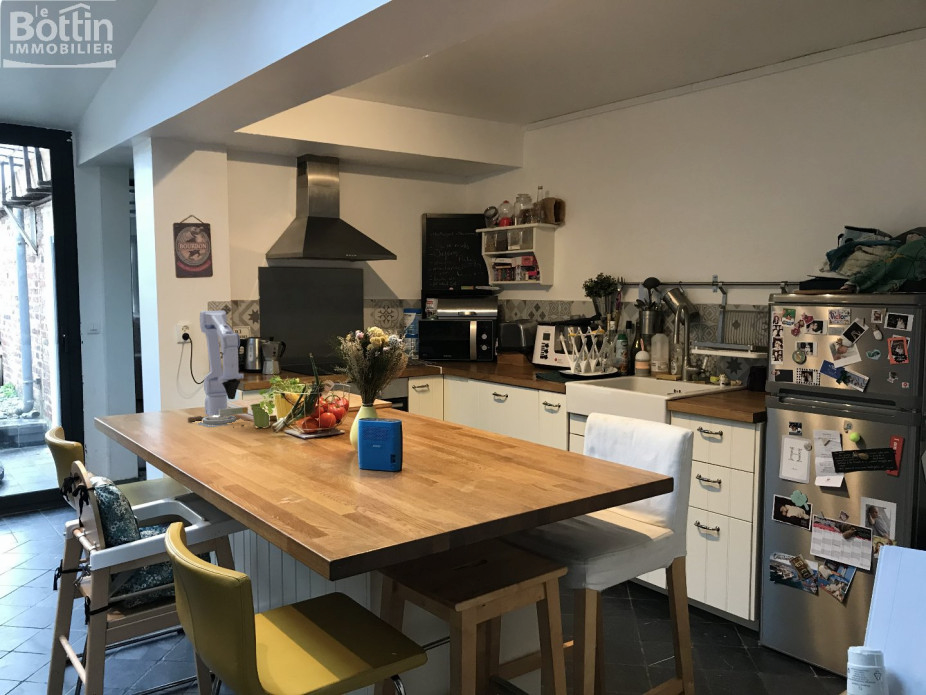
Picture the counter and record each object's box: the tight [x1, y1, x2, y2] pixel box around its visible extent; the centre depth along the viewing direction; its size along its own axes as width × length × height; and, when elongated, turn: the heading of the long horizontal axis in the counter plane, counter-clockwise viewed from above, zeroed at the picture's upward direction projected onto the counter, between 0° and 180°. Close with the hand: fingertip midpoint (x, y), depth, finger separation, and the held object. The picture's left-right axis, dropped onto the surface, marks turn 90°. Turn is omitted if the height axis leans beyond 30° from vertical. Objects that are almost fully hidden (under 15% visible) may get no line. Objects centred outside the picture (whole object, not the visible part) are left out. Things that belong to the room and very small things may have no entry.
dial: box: [208, 406, 249, 420], centre depth 294 cm, size 15×8×5 cm, turn 122°
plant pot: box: [249, 403, 269, 427], centre depth 284 cm, size 9×9×9 cm
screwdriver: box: [187, 415, 209, 423], centre depth 295 cm, size 12×2×2 cm, turn 138°
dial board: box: [198, 415, 239, 428], centre depth 293 cm, size 18×18×2 cm
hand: (231, 398), depth 291 cm, fingers closed
